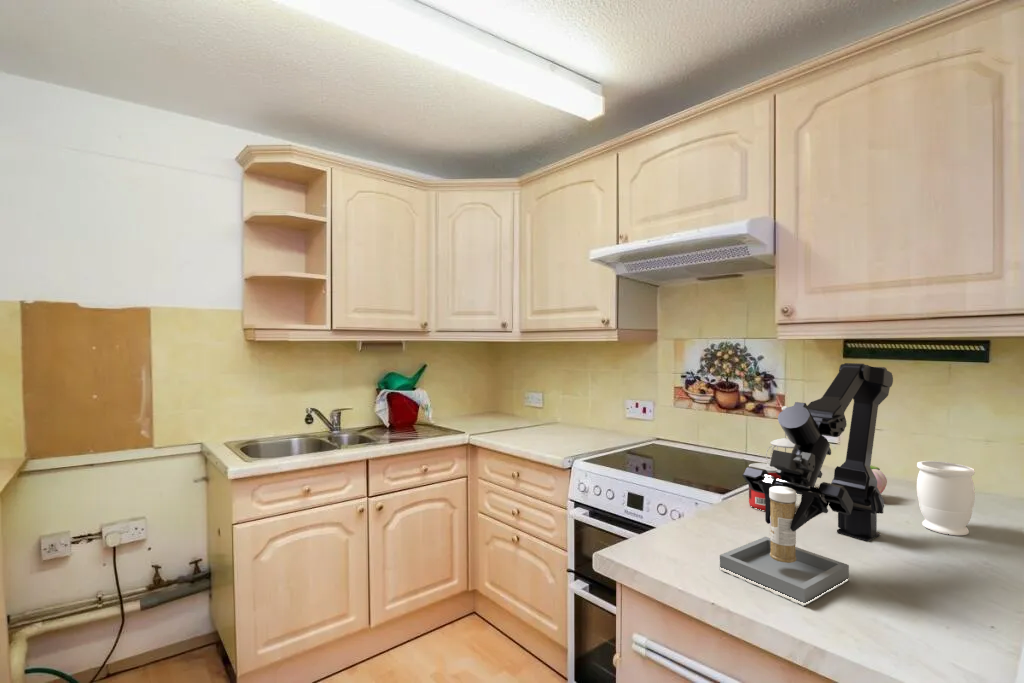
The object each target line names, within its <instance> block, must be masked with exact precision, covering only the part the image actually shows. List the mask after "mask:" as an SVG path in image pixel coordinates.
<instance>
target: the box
mask: <svg viewBox="0 0 1024 683" xmlns="http://www.w3.org/2000/svg"><path fill="white" fill-rule="evenodd" d="M795 547H796V548H795V549H796V551H795V552H796V553H795V554H796V561H795V562H793V563H785V562H779V561H777V560H774V559H773V558H771V556H770V552H771V540H770V537H768V536H764V537H761V538H758V539H757V540H754V541H751V542H749V543H746V544H744V545H740V546H738V547H735V548H734V549H731V550H729V551H727V552H724V553H721V554H720V555H719V568H720V567H721V568H724V569H726V570H729V571H731V572H733V573H735V574H738V575H740V576H742V577H744V578H746V579H749V580H751V581H754V582H756V583H758V584H761V585H763V586H765V587H768V588H771V589H773V590H775V591H778V592H780V593H782V594H785V595H787V596H789V597H792V598H794V599H796V600H798V601H800V602H803V603H806V602H808V601H810V600H812V599H814V598H815V597H817V596H819V595H821V594H822V593H824V592H826V591H827V590H829V589H831V588H833V587H834V586H836V585H838V584H840V583H842V582H843V581H845V580H846V579H848V578H849V579H850V577H849V576H850V575H849V574H850V570H849V569H850V565H849V564H847V563H844V562H843V561H842V562H841V561H839V560H835V559H832V558H829V557H827V556H824V555H821V554H818V553H815V552H812V551H809V550H805V549H803V548H800V547H798V546H795Z"/></svg>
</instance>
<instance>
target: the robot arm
mask: <svg viewBox="0 0 1024 683" xmlns="http://www.w3.org/2000/svg"><path fill="white" fill-rule="evenodd" d="M893 383H894V375H893V373H892V371H889V370H888V369H887V367H884V366H870V365H868V364H865V363H861V362H859V363H858V362H856V363H855V362H853V363H852V362H844V363H841V364H840V365H839V368H838V373H837V374H836V375H835V378H834V379H833V380H832V382H831V383H830V385H829V387H828V388H827V389H826V390H825V392H824V394H823V395H822V396H821V398H818V399H816V400H812V401H811V402H809V403H808V404H807V403H806V402H798V401H795V402H794V404H793V405H792V406H787V407H788V408H786V409H784V410H782V411H781V412H779V413H778V416H777V421H778V423H779V425H780V426H781V428H782V430H783V432H784V435H785V434H786V438H787V439H789V440H790V441H791V442H792V443H794V444H795V446H794V448H792V450H791V452H789V451H786V452H785V451H783V450H782V451H781V450H777V449H774V450H772V452H771V458H770V462H769V464H770V466H771V467H775V468H776V469H777V470H776V473H777V475H779V476H781V479H776V478H775V477H773V476H770V475H769V474H768V472H767V471H766V470H765V469H760V468H756V467H751V466H750V467H749V466H747V467H746V468H745V469H744V470H743V473H742V477H743V479H744V481H745V482H746V483H747V485H748V487H749V486H750V488H751V489H752V490H754V491H756V492H760V493H764V494H765V511H764V512H765V513H764V514H765V515H764V516H765V520H764V521H765V522H766V524H768V525H770V515H771V514H770V513H771V511H770V508H771V507H770V506H771V504H770V497H769V489H770V487H773V486H783V487H788V488H792V489H794V490H795V491H796V493H797V494H801V498H800V503H799V505H798V508H797V510H796V511H795V516H794V518H793V520H792V524H791V527H790V528H791V530H792V531H796V532H797V530H798V529H800V528H801V527H803V526H804V525H805V524H806V523H808V522H809V521H811V520H812V519H813V518H815V517H818V516H819V515H820V514H823V513H824V514H828V512H829V509H828V507H829V508H830V509H831V511H832V512H835V513H837V527H838V529H836V533H837V534H838V533H839V534H841V533H842V534H843V535H845V536H848V537H851V536H852V538H854V539H855V538H856V539H858V538H859V539H858V540H863V541H865V542H869V541H871V540H874V539H876V538H878V537H879V536H881V533H880V532H878V531H877V528H878V527H877V524H878V523H877V522H878V521H877V520H878V518H877V517H878V516H877V514H884V509H885V500H884V498H883V495H882V493H881V494H880V492H879V490H878V488H877V479H876V477H875V475H874V473H873V471H872V470H871V468H870V465H871V462H872V457H873V448H874V441H875V433H876V426H877V419H878V418H877V417H878V409H879V406H880V405H881V403H883V402H884V401H885V400H886V398H888V396H889V394H890V389H891V387H892V386H893ZM852 401H853V403H852ZM851 403H852V404H853V407H852V411H851V412H852V414H851V419H850V420H851V421H850V428H849V434H848V440H847V449H846V456H845V461H844V462H843V463H842V464H841V465H840V466H838V465H837V466H836V467H835V468H834V471H833V474H834V475H833V479H832V480H831V483H830V482H825V481H822V482H821V483H819V486H818V487H815V485H816V482H817V480H818V478H819V479H821V478H823V477H822V476H823V472H822V471H821V470H822V468H823V464H824V461H825V460H826V456H827V455H828V456H831V455H832V449H831V447H830V446H831V444H830V442H829V440H828V439H827V437H830V438H831V437H832V438H839V437H840V436H841V435H842V433H844V431H845V429H846V427H847V425H848V424H847V420H846V416H845V412H846V411H847V409H848V407H849V406H850V404H851ZM871 466H872V465H871ZM873 538H874V539H873Z"/></svg>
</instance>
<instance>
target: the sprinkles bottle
mask: <svg viewBox="0 0 1024 683" xmlns="http://www.w3.org/2000/svg"><path fill="white" fill-rule="evenodd" d="M769 497H770V504H771V506H770V507H771V508H770V511H771V513H770V514H771V515H770V524H769V529H770V530H769V532H770V533H769V534H770V535H769V538H770V540H771V552H770V556H771V558H773V559H774V560H777V561H779V562H785V563H793V562H795V561H796V554H795V553H796V552H795V551H796V549H795V548H796V547H797V546H796V544H797V530H796V531H792V530H791V528H790V527H791V524H792V520H793V518H794V516H795V514H796V503H797V495H796V491H795V490H794V489H792V488H788V487H783V486H773V487H770V489H769Z"/></svg>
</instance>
